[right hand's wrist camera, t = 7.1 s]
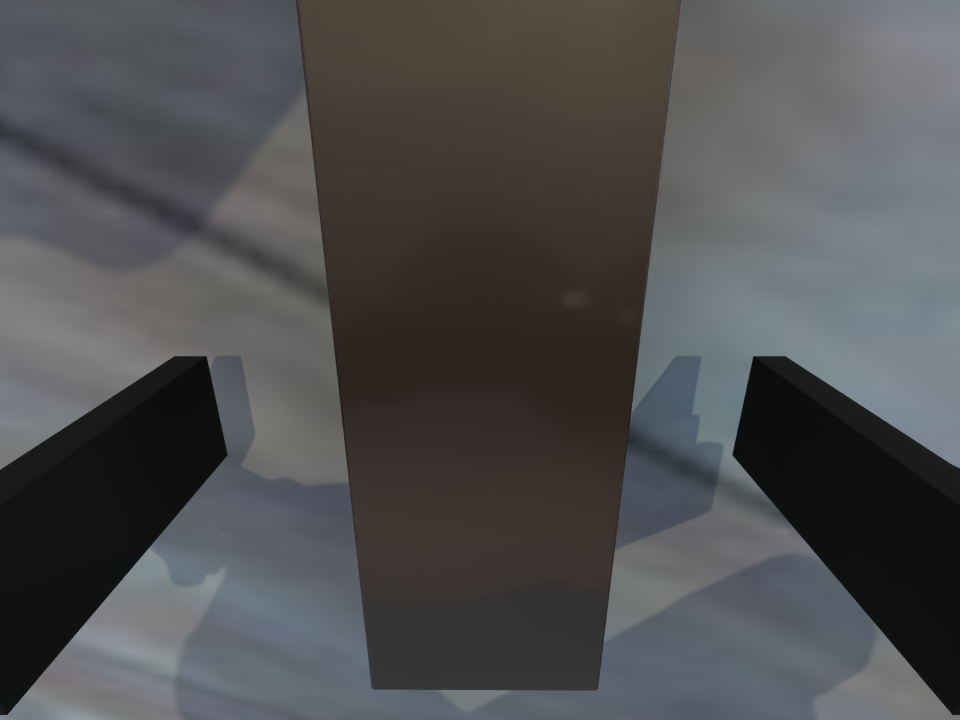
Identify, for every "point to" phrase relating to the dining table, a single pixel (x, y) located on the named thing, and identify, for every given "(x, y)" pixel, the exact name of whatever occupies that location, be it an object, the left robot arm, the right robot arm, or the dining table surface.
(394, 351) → the walnut beam
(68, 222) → the dining table surface
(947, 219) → the dining table surface
